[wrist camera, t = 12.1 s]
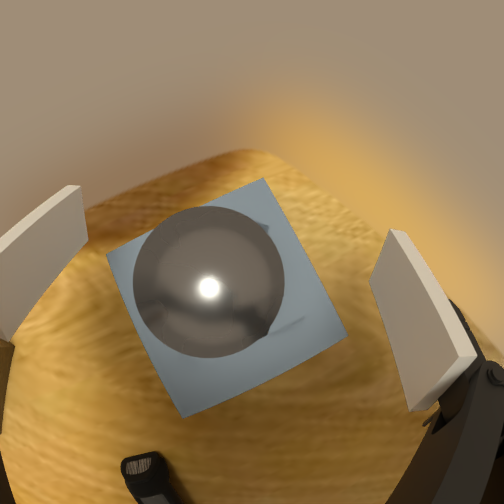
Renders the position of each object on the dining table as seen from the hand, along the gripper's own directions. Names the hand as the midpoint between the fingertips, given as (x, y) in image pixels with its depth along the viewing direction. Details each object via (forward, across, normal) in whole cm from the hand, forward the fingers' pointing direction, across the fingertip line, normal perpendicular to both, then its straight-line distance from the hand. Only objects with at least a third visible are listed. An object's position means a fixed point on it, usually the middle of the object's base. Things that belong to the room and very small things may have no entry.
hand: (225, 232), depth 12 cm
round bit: (+4, 0, -7) cm, 8 cm away
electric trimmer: (-9, -1, -21) cm, 23 cm away
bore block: (+4, 0, -7) cm, 8 cm away
